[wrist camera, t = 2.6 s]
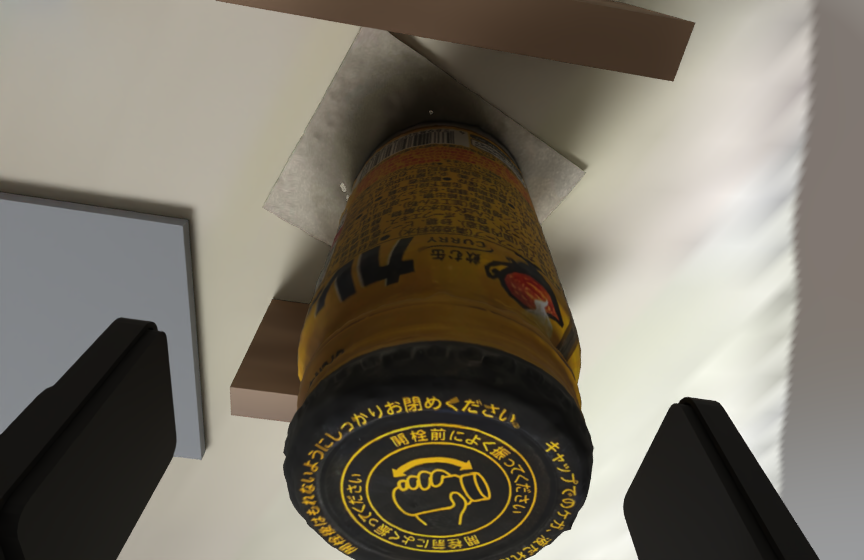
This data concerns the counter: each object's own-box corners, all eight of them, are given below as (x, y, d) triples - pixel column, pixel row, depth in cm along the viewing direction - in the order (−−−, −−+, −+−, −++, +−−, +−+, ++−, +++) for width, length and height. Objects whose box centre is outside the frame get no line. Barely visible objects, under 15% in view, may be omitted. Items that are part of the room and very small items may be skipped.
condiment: (459, 316, 22) (478, 647, 11) (263, 205, 19) (62, 495, 9) (585, 170, 19) (767, 443, 8) (368, 15, 16) (244, 127, 6)
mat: (-172, 166, 19) (-186, 171, 18) (188, 219, 20) (182, 226, 19) (-65, 419, 25) (-74, 427, 24) (205, 451, 26) (201, 459, 25)
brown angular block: (277, -62, 15) (213, -67, 11) (625, 3, 16) (695, 22, 12) (271, 323, 22) (231, 414, 18) (517, 357, 23) (535, 452, 18)
